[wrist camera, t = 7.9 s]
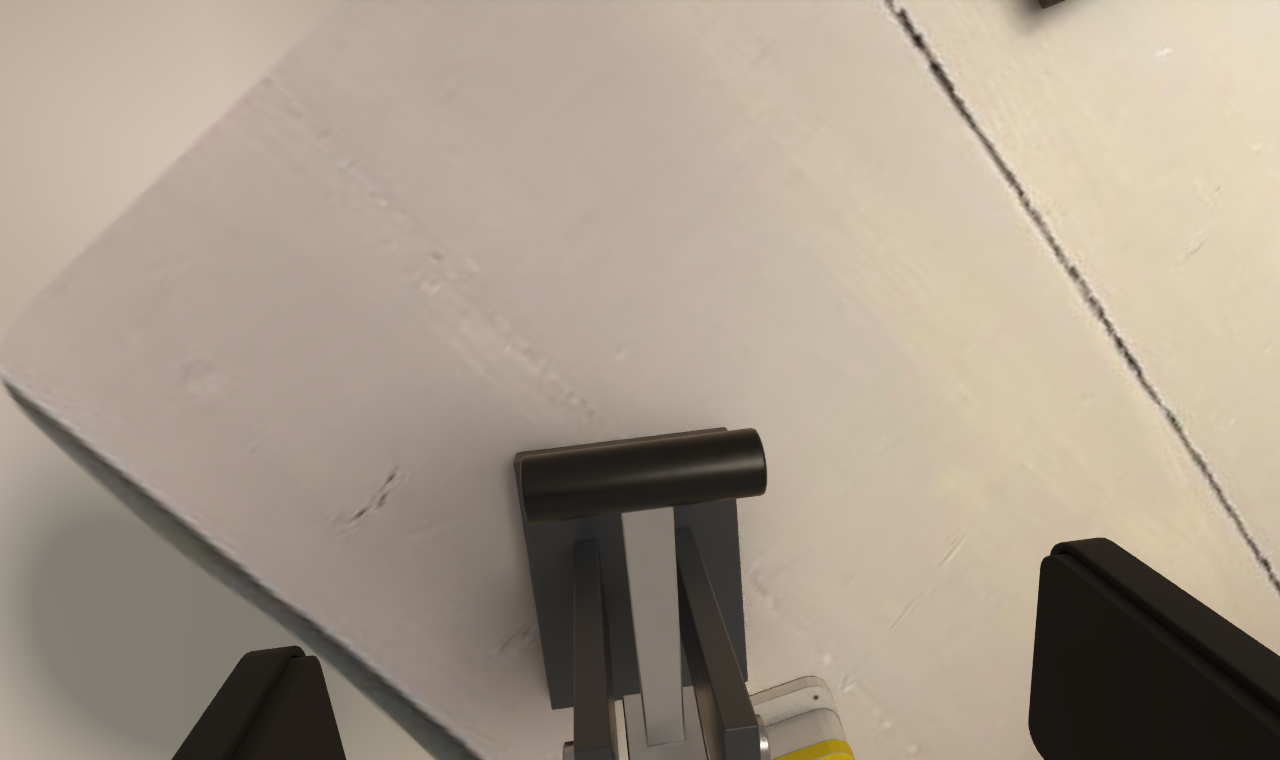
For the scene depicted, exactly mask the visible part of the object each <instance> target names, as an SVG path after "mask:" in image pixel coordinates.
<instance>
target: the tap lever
mask: <svg viewBox="0 0 1280 760" xmlns="http://www.w3.org/2000/svg"><path fill="white" fill-rule="evenodd" d="M520 481H521V493H522V501H523V507H524V513H525V517H526V520H527V522H528V523H529V524H531V525H536V524H544V523H551V522H559V521H567V520H575V519H582V518H590V517H598V516H606V515H613V514H621V518H622V528H623V537H624V546H625V555H626V564H627V573H628V582H629V591H630V601H631V610H632V619H633V628H634V637H635V646H636V655H637V665H638V674H639V683H640V692H641V693H638V694H631V695H624V696H623V698H622V699H623V709H624V719H625V729H626V739H627V749H628V758H629V760H709V758H708V753H707V748H706V743H705V738H704V733H703V727H702V722H701V717H700V712H699V707H698V702H697V697H696V692H695V687H694V686H686V687H683V686H682V667H681V648H680V629H679V610H678V590H677V571H676V552H675V533H674V514H673V507H675V506H683V505H691V504H699V503H707V502H714V501H722V500H730V499H738V498H745V497H753V496H761V495H763V494H764V493H765V491H766V486H767V467H766V459H765V453H764V449H763V445H762V442H761V439H760V436H759V434H758V433H757V431H756V430H755V429H752V428H748V429H740V430H732V431H724V432H716V433H707V434H699V435H691V436H683V437H675V438H667V439H659V440H651V441H642V442H634V443H626V444H618V445H610V446H602V447H594V448H585V449H577V450H569V451H561V452H553V453H545V454H537V455H529V456H524V457H522V459H521V464H520Z"/></svg>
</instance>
